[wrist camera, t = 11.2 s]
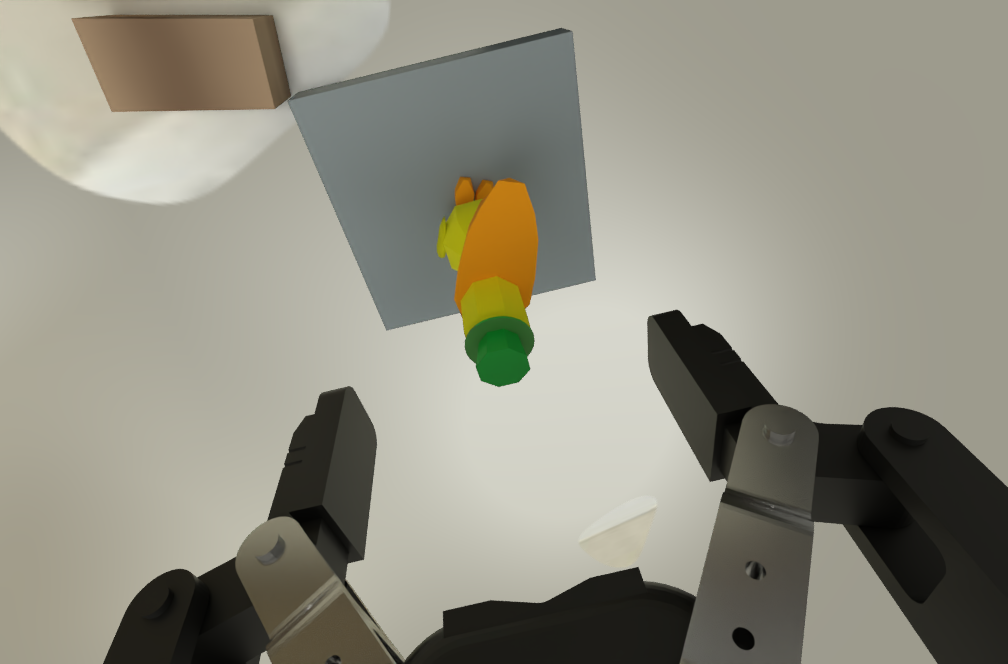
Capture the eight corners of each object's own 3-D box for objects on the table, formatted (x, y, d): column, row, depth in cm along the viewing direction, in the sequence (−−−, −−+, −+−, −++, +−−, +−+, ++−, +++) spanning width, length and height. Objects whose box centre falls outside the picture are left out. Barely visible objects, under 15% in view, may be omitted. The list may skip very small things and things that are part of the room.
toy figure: (444, 114, 21) (460, 223, 11) (523, 126, 21) (605, 237, 12) (432, 255, 24) (436, 428, 15) (500, 261, 25) (547, 430, 15)
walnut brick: (273, 15, 20) (252, 19, 17) (291, 95, 21) (274, 108, 19) (116, 14, 19) (71, 18, 17) (148, 97, 21) (111, 111, 18)
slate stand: (561, 27, 21) (572, 31, 20) (586, 263, 28) (595, 280, 27) (297, 92, 21) (287, 101, 20) (388, 310, 28) (386, 330, 27)
